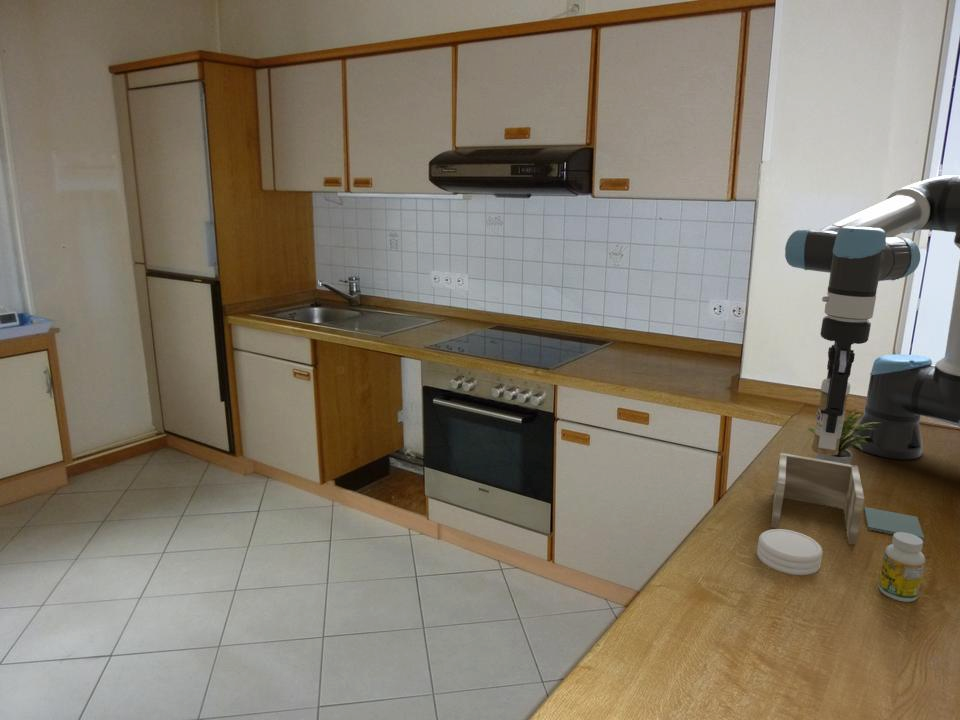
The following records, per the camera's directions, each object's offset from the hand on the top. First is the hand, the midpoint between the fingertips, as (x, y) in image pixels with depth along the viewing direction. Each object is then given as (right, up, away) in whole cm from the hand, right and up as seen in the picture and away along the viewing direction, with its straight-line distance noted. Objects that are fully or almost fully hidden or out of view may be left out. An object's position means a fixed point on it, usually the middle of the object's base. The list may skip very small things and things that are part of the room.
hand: (826, 443), depth 129 cm
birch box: (+1, -15, +7) cm, 17 cm away
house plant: (+13, -11, +24) cm, 29 cm away
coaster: (-11, -19, -8) cm, 24 cm away
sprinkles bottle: (0, -2, +1) cm, 2 cm away
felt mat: (+15, -16, +5) cm, 23 cm away
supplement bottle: (+3, -22, -17) cm, 28 cm away
